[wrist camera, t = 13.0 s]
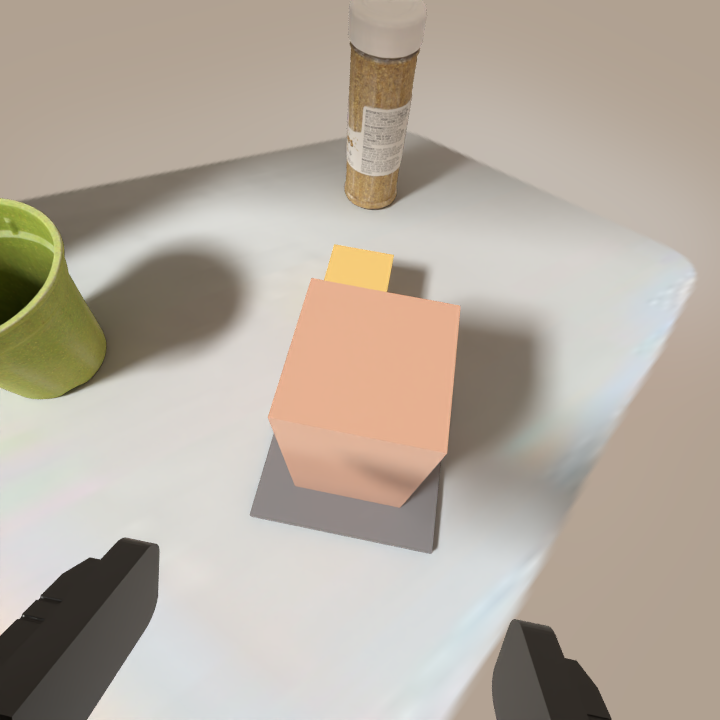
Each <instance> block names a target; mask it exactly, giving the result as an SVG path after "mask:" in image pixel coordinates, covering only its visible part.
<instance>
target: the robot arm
mask: <svg viewBox="0 0 720 720" xmlns="http://www.w3.org/2000/svg"><path fill="white" fill-rule="evenodd" d="M158 578H159V546H158V545H157V544H154V543H149V542H144V541H140V540H135V539H130V538H122V539H120V540H119V541H118V542H117V543H116V544H115V545H114V546H113V547H112V548H111V549H110V550H109V551H108V552H107V553H106V554H105V555H104V557H103V558H102V559H101V560H99V559H95V558H88V559H87V560H85V561H83V562H81V563H80V564H78V565H76V566H75V567H73V568H71V569H70V570H68V571H66V572H65V573H63V574H62V575H61V576H60V577H59V578H58V579H57V580H56V581H55V582H54V583H53V584H52V585H51V586H50V587H49V588H48V589H47V590H46V591H45V592H44V593H43V594H42V595H41V597H40V599H39V600H36V601H35V602H34V603H33V604H32V605H31V606H30V607H29V608H28V609H27V610H26V611H25V612H24V613H23V614H22V616H21V618H20V619H17V620H16V621H15V622H14V623H13V624H12V625H11V626H10V627H9V628H8V629H7V630H6V631H5V632H4V633H3V634H2V635H1V636H0V720H87V719H88V717H89V716H90V714H91V713H92V711H93V709H94V708H95V706H96V705H97V703H98V702H99V700H100V699H101V697H102V696H103V694H104V693H105V691H106V689H107V688H108V686H109V685H110V683H111V682H112V680H113V679H114V677H115V676H116V674H117V672H118V671H119V669H120V668H121V666H122V665H123V663H124V662H125V660H126V659H127V657H128V655H129V654H130V652H131V651H132V649H133V648H134V646H135V645H136V643H137V642H138V640H139V638H140V637H141V635H142V634H143V632H144V631H145V629H146V628H147V626H148V624H149V622H150V620H151V618H152V615H153V613H154V610H155V607H156V603H157V598H158ZM492 696H493V703H494V709H495V713H496V719H497V720H611V717H610V714H609V712H608V710H607V708H606V705H605V703H604V701H603V699H602V697H601V694H600V692H599V690H598V688H597V687H596V685H595V684H594V683H593V681H592V680H591V679H590V677H589V676H588V675H587V674H586V672H585V671H584V670H583V668H582V667H581V666H580V665H579V663H578V662H577V661H575V660H571V659H566V658H564V655H563V653H562V650H561V648H560V645H559V643H558V640H557V638H556V635H555V634H554V631H553V630H552V629H551V628H550V627H549V626H545V625H540V624H535V623H531V622H526V621H521V620H516V619H514V620H512V621H511V623H510V625H509V628H508V630H507V633H506V636H505V639H504V642H503V645H502V648H501V650H500V653H499V656H498V659H497V662H496V665H495V668H494V672H493V680H492Z"/></svg>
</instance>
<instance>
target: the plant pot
mask: <svg viewBox="0 0 720 720" xmlns="http://www.w3.org/2000/svg"><path fill="white" fill-rule="evenodd" d="M105 353H106V339H105V336H104V333H103V331H102V329H101V328H100V326H99V324H98V322H97V321H96V319H95V317H94V316H93V314H92V312H91V311H90V309H89V307H88V306H87V304H86V302H85V301H84V299H83V297H82V296H81V294H80V292H79V290H78V289H77V287H76V285H75V283H74V282H73V280H72V278H71V276H70V275H69V273H68V267H67V263H66V260H65V258H64V244H63V240H62V237H61V235H60V233H59V231H58V229H57V228H56V226H55V225H54V223H53V222H52V221H51V220H50V219H49V218H48V217H47V216H46V215H45V214H44V213H42V212H41V211H39V210H37V209H36V208H34V207H32V206H29V205H27V204H24V203H22V202H18V201H15V200H9V199H3V198H0V388H2V389H5V390H8V391H10V392H13V393H16V394H18V395H21V396H23V397H26V398H31V399H49V398H55V397H58V396H61V395H63V394H64V393H66V392H67V391H69V390H70V389H72V388H75V387H76V386H78V385H81V384H83V383H85V382H87V381H88V380H89V379H90V378H91V377H92V376H93V375H94V374H95V373H96V372H97V370H98V369H99V367H100V366H101V364H102V362H103V360H104V357H105Z"/></svg>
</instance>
